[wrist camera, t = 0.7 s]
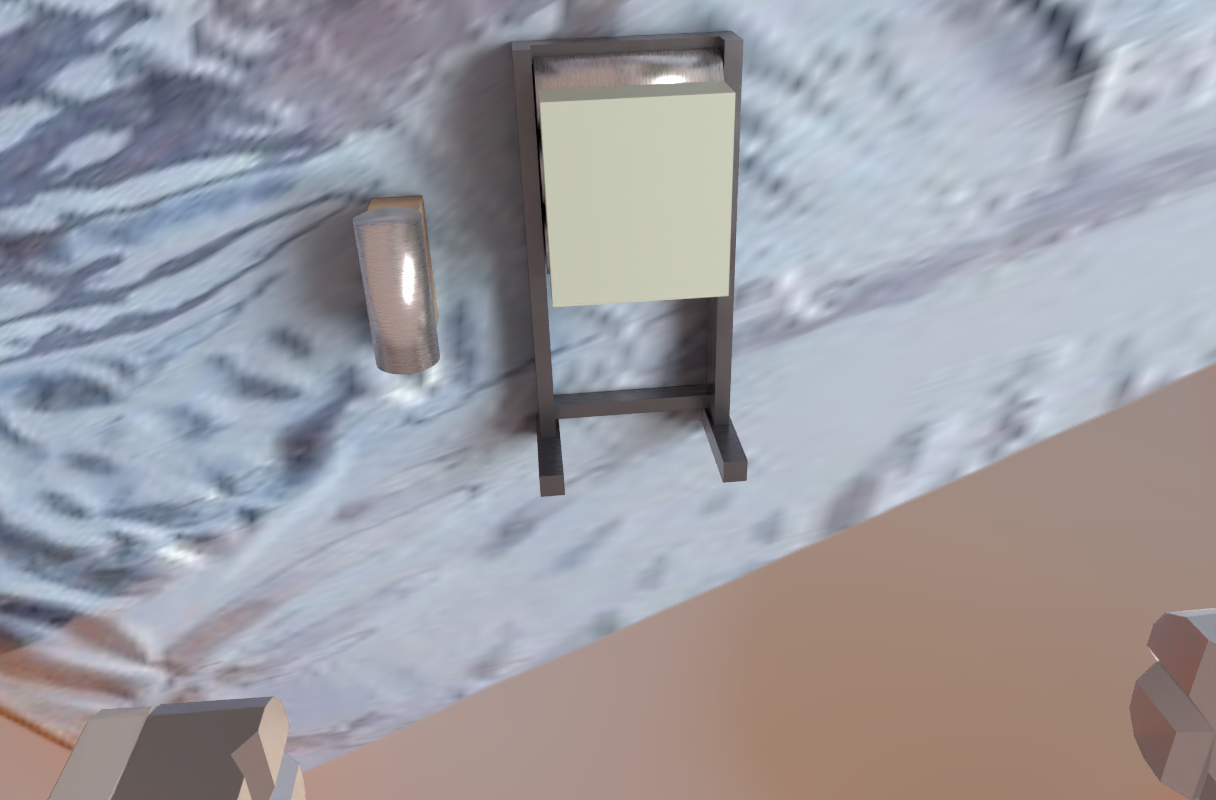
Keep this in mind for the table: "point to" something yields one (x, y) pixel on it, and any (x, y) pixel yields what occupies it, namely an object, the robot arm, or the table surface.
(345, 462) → the table surface
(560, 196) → the slab
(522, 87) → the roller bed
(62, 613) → the table surface
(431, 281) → the block
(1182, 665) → the robot arm
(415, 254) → the roller
